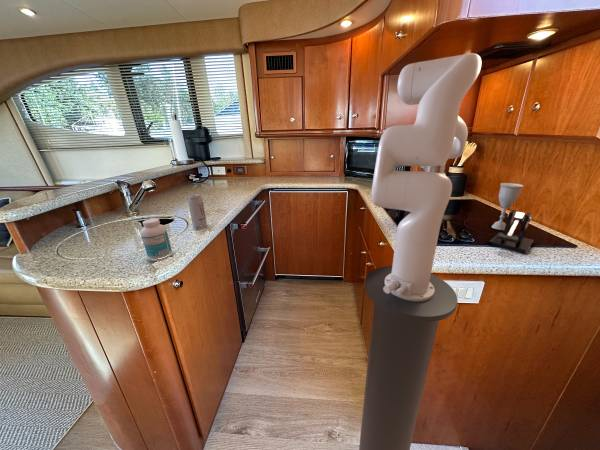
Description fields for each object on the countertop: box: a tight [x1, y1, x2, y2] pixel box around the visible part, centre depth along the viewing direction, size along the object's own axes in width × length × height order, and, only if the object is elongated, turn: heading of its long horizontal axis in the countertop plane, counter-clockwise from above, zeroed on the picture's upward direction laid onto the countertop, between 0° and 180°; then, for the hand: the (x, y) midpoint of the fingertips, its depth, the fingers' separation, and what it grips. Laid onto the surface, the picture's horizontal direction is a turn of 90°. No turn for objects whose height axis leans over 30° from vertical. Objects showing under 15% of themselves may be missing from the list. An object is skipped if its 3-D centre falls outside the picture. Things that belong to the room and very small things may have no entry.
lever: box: [498, 211, 526, 243], centre depth 79 cm, size 12×5×2 cm, turn 129°
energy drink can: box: [187, 193, 208, 230], centre depth 107 cm, size 6×6×15 cm
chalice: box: [491, 182, 524, 231], centre depth 95 cm, size 7×7×18 cm
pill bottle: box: [140, 218, 173, 262], centre depth 80 cm, size 8×7×14 cm
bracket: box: [488, 209, 535, 255], centre depth 82 cm, size 12×10×12 cm
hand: (426, 211), depth 104 cm, fingers closed
